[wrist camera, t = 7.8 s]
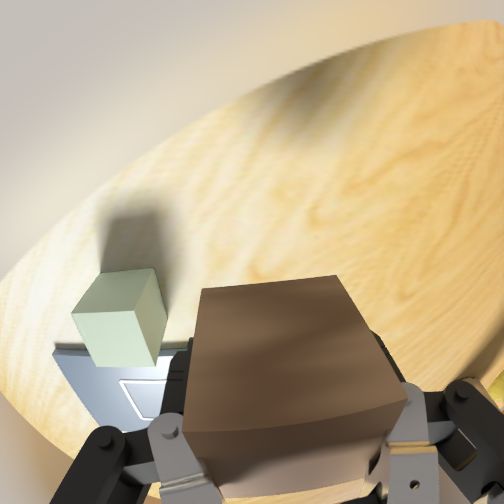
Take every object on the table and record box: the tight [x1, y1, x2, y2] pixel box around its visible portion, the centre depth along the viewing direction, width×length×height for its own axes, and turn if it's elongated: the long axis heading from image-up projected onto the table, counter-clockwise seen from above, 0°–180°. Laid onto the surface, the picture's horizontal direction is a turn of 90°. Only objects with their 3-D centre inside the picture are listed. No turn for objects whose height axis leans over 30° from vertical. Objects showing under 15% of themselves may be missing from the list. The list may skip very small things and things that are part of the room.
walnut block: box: [182, 275, 409, 498], centre depth 9 cm, size 5×5×6 cm
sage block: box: [71, 268, 168, 367], centre depth 21 cm, size 5×5×6 cm
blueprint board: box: [52, 348, 188, 432], centre depth 28 cm, size 22×14×1 cm, turn 95°
